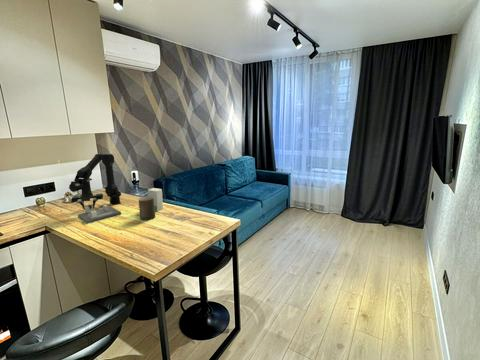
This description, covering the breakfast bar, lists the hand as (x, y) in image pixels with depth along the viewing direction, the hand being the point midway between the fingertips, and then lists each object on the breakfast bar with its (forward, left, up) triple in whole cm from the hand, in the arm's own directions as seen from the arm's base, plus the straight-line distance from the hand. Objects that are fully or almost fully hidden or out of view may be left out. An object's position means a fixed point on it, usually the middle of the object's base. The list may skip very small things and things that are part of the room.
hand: (89, 209), depth 181 cm
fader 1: (+1, +12, -2) cm, 12 cm away
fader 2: (-9, +5, -2) cm, 10 cm away
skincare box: (-36, +25, -4) cm, 45 cm away
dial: (0, 0, -2) cm, 2 cm away
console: (-4, +6, -4) cm, 9 cm away
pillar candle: (-24, +35, -4) cm, 43 cm away
